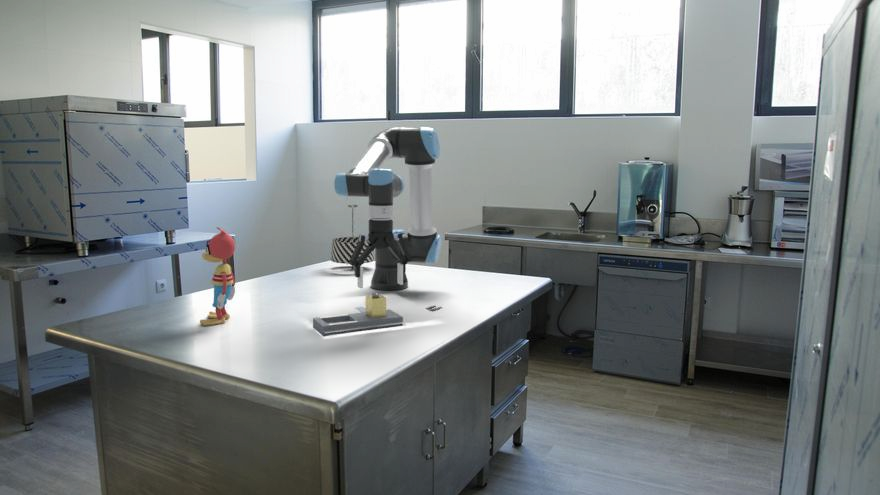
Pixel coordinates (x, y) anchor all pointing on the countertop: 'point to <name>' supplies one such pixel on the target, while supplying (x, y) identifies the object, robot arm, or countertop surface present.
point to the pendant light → (348, 248)
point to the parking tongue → (361, 309)
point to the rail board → (355, 322)
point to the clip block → (375, 305)
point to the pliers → (433, 309)
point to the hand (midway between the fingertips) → (380, 285)
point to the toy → (220, 276)
